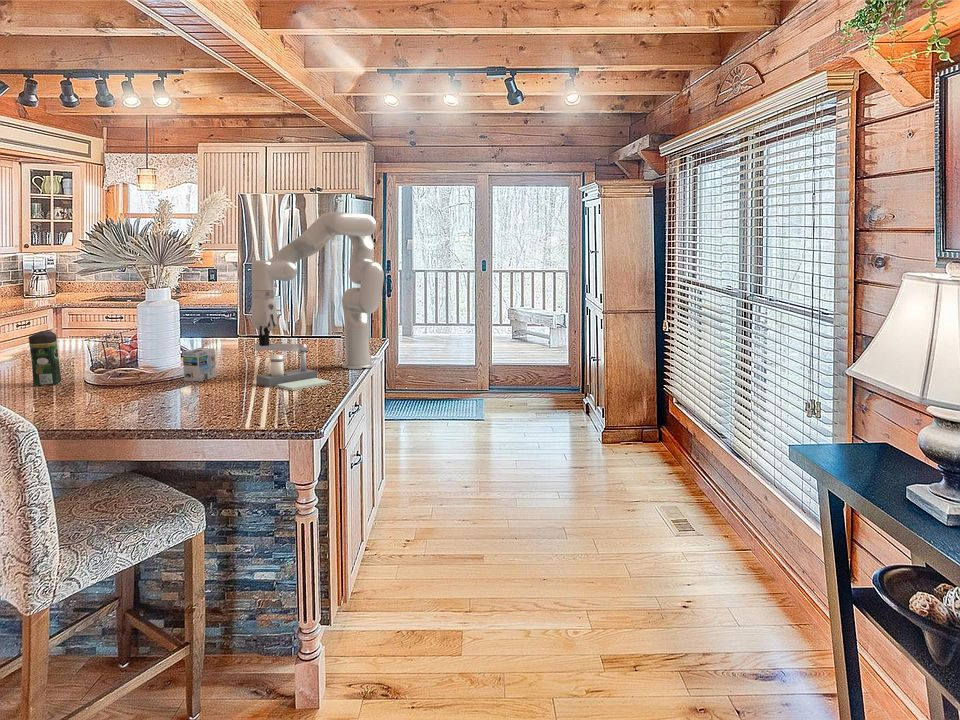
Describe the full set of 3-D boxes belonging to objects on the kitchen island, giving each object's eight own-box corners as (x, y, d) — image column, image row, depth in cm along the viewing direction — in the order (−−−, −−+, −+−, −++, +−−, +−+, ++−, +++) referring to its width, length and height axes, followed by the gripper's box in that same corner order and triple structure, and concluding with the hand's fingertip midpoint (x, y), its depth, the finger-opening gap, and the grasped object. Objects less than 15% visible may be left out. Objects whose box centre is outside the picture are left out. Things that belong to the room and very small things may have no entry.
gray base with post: (304, 376, 269) (303, 349, 267) (317, 379, 264) (316, 351, 262) (256, 384, 254) (255, 355, 252) (269, 387, 249) (267, 358, 247)
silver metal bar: (308, 350, 263) (307, 344, 263) (305, 351, 261) (304, 345, 260) (258, 349, 266) (257, 342, 266) (254, 350, 264) (254, 343, 263)
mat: (315, 380, 261) (315, 377, 261) (331, 384, 255) (330, 381, 255) (277, 387, 249) (277, 384, 249) (292, 391, 243) (292, 388, 243)
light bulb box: (200, 382, 257) (198, 352, 255) (183, 381, 258) (181, 351, 256) (217, 376, 267) (215, 348, 265) (200, 375, 268) (198, 347, 267)
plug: (279, 381, 259) (278, 354, 257) (286, 383, 256) (285, 355, 254) (268, 383, 256) (267, 355, 254) (275, 385, 253) (274, 356, 251)
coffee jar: (38, 381, 256) (33, 330, 252) (63, 380, 258) (58, 329, 255) (30, 387, 246) (24, 333, 243) (56, 386, 249) (51, 333, 245)
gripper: (284, 296, 256) (284, 346, 259) (261, 293, 266) (262, 342, 269) (265, 296, 251) (266, 348, 254) (242, 294, 261) (243, 344, 263)
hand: (264, 345), depth 261 cm, fingers closed
